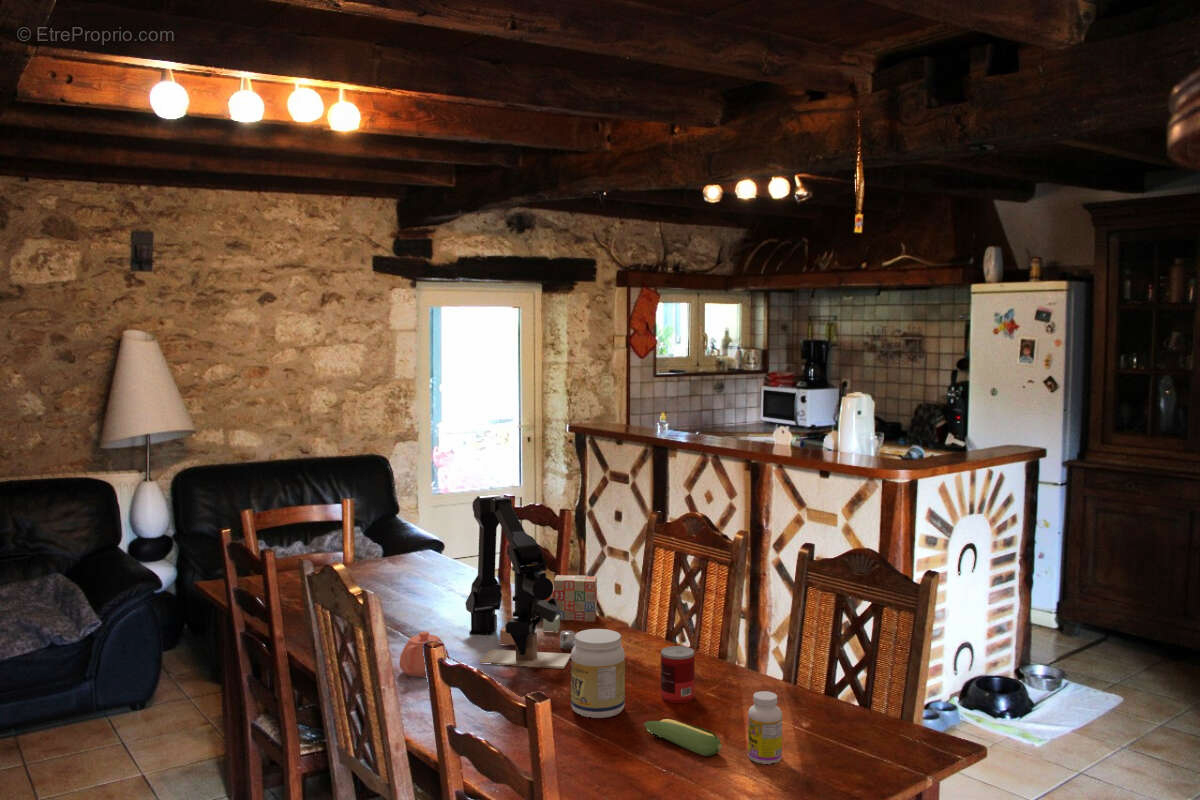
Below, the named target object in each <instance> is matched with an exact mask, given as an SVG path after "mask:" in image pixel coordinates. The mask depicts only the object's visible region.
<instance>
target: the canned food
mask: <svg viewBox="0 0 1200 800" xmlns="http://www.w3.org/2000/svg"><path fill="white" fill-rule="evenodd" d="M660 651H661V652H660V695H661V698H662V700H664V701H665V702H666V703H670V702H671V704H684V703H685V702H686V703H688V702H691V701H693V699H694V696H695V651H694V649H693V648H691V647H688V646H683V645H673V646H667V647H664V648H662V649H661V650H660ZM686 703H685V704H686Z"/></svg>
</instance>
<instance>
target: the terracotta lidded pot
mask: <svg viewBox="0 0 1200 800" xmlns="http://www.w3.org/2000/svg"><path fill="white" fill-rule="evenodd" d="M418 634H419V635H417V634H416V635H414V636H412V637H410V638H408V641H407V642H406V644H405V645H404V647H403V649H402V651H401V653H400V658H399V668H400V669H401V670H402V671H403V672H404V673H405V674H406V676H409V675H410V676H411V677H418V678H423V679H427V678H426V671H425V662H424V656H423V644H424V643H425V642H427V641H439V642H441V643H443V641H442V640H441V638H440V637H439V636H438V635H435V634H430V632H429V631H421V632H419V633H418ZM443 644H444V643H443ZM445 648H446V654H447V658H448V659H449V660H450V655H449V652H448V649H447V647H446V646H445ZM410 676H409V677H410ZM424 677H425V678H424Z"/></svg>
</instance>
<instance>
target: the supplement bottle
mask: <svg viewBox="0 0 1200 800" xmlns="http://www.w3.org/2000/svg"><path fill="white" fill-rule="evenodd" d="M752 701H753V705H751V706H750V707H749V709H748V711H747V713H748V715H747V718H748V723H747V724H748V725H747V727H748V728H747V756H748V758H749V759H750V760H751V762H753V761H754V763H756V762H757V763H756V764H759V763H762V764H761V765H765V764H768V765H772V764H771V763H775V764H777V763H779V762H781V759H782V756H783V712H782V709H781V708H780V707H779V706H777V704H778V695H777V694H776V693H775V692H771V691H766V690H763V691H761V690H760V691H755V692H754V693H753V697H752Z"/></svg>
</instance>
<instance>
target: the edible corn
mask: <svg viewBox="0 0 1200 800" xmlns="http://www.w3.org/2000/svg"><path fill="white" fill-rule="evenodd" d="M643 725H644V726H645V729H646V731H647V732H649V733H650V734H652V735H653V733H654V734H656V735H658V736H659V738H661V739H664V740H667V741H668V742H670V743H672V744H675V745H676V746H679V747H681V748H684V749H685V748H686V750H687V749H688V750H687V751H689V750H690V751H689V752H691V751H693V752H692V753H694V752H695V754H696V753H698V754H697V755H699V754H700V755H699V756H702V755H703V757H709V756H710V757H711V756H712V755H716V754H718V753H719V752H720V751H721V750H722V748H723V745H722V743H721V740H720V738H719V737H718V735H716V734H715V733H714V732H713V731H711V730H708V729H705V728H702V727H700V726H699V727H698V726H696V725H693V724H689V723H684V722H680V721H678V720H674V719H670V718H663V719H660V720H648V721H645V722H643ZM650 731H651V732H650ZM658 736H657V737H658ZM662 737H663V738H662Z"/></svg>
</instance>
